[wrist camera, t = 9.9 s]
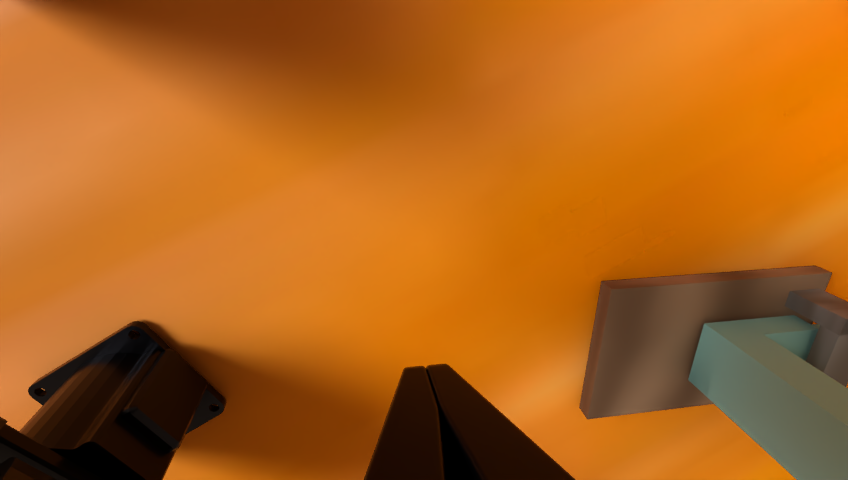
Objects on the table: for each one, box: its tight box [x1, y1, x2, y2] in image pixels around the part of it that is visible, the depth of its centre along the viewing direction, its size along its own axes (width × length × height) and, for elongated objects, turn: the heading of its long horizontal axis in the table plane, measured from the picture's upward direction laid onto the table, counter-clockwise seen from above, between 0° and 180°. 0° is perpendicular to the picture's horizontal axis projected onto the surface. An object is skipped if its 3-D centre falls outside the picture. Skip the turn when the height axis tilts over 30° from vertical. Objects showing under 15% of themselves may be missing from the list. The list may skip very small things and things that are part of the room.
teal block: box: [688, 315, 848, 480], centre depth 22 cm, size 9×4×9 cm, turn 90°
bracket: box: [579, 266, 848, 419], centre depth 25 cm, size 14×9×4 cm, turn 90°
